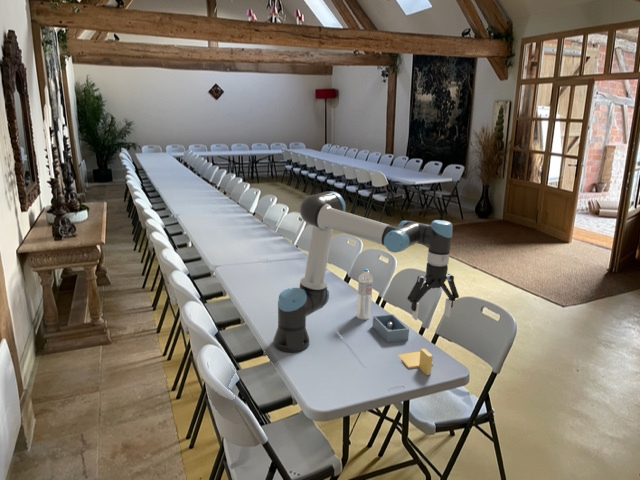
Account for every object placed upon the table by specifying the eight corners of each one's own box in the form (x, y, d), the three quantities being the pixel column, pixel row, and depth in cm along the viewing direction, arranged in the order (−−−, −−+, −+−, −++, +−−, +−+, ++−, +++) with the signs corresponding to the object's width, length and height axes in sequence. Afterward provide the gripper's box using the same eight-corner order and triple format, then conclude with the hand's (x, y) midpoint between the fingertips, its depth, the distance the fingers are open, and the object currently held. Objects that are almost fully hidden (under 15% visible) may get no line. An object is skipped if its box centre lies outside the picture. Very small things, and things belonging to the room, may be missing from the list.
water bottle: (359, 321, 224) (362, 272, 218) (354, 315, 231) (357, 267, 224) (372, 320, 226) (375, 271, 220) (367, 314, 233) (370, 266, 226)
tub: (387, 344, 204) (388, 331, 202) (372, 328, 218) (373, 316, 217) (408, 341, 207) (409, 329, 205) (391, 325, 221) (392, 314, 220)
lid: (416, 376, 179) (417, 357, 177) (390, 348, 200) (391, 331, 198) (441, 373, 182) (443, 354, 180) (412, 345, 203) (414, 328, 201)
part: (393, 330, 215) (393, 324, 214) (386, 329, 215) (387, 323, 215) (393, 327, 218) (393, 321, 217) (386, 327, 218) (387, 321, 217)
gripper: (411, 268, 164) (405, 324, 170) (473, 264, 171) (465, 318, 177) (401, 261, 171) (396, 315, 176) (461, 258, 178) (454, 310, 184)
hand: (430, 317), depth 177 cm, fingers open, 13 cm apart
